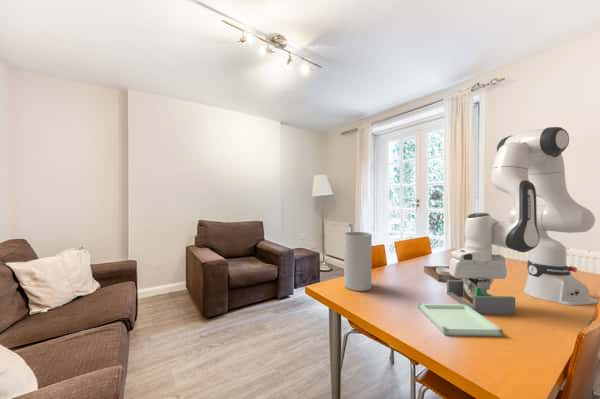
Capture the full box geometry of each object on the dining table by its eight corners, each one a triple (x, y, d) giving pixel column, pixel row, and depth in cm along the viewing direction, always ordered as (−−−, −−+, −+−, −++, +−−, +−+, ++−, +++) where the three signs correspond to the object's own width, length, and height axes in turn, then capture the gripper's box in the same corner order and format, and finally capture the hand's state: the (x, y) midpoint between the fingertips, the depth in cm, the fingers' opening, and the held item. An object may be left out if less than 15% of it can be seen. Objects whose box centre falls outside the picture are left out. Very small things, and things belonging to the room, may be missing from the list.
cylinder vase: (357, 280, 120) (357, 231, 119) (377, 288, 109) (377, 234, 109) (338, 285, 113) (338, 233, 113) (358, 294, 102) (358, 236, 102)
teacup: (450, 283, 116) (450, 273, 116) (429, 277, 124) (429, 268, 124) (459, 279, 122) (459, 270, 122) (438, 274, 130) (438, 265, 130)
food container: (496, 311, 87) (497, 284, 87) (477, 309, 88) (478, 282, 88) (478, 297, 99) (478, 273, 99) (461, 295, 100) (462, 272, 100)
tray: (465, 309, 88) (465, 304, 88) (502, 336, 71) (502, 329, 71) (418, 308, 89) (418, 303, 89) (444, 335, 72) (444, 328, 72)
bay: (479, 294, 102) (480, 280, 102) (515, 314, 84) (515, 297, 84) (446, 294, 102) (446, 280, 102) (475, 313, 85) (475, 297, 85)
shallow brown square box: (451, 272, 131) (451, 266, 131) (469, 282, 116) (469, 275, 116) (423, 272, 132) (424, 266, 132) (438, 281, 117) (438, 274, 117)
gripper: (498, 252, 96) (497, 286, 96) (447, 251, 97) (446, 285, 97) (511, 256, 90) (511, 292, 90) (456, 255, 90) (456, 291, 91)
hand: (477, 288), depth 93 cm, fingers closed on food container, 6 cm apart
